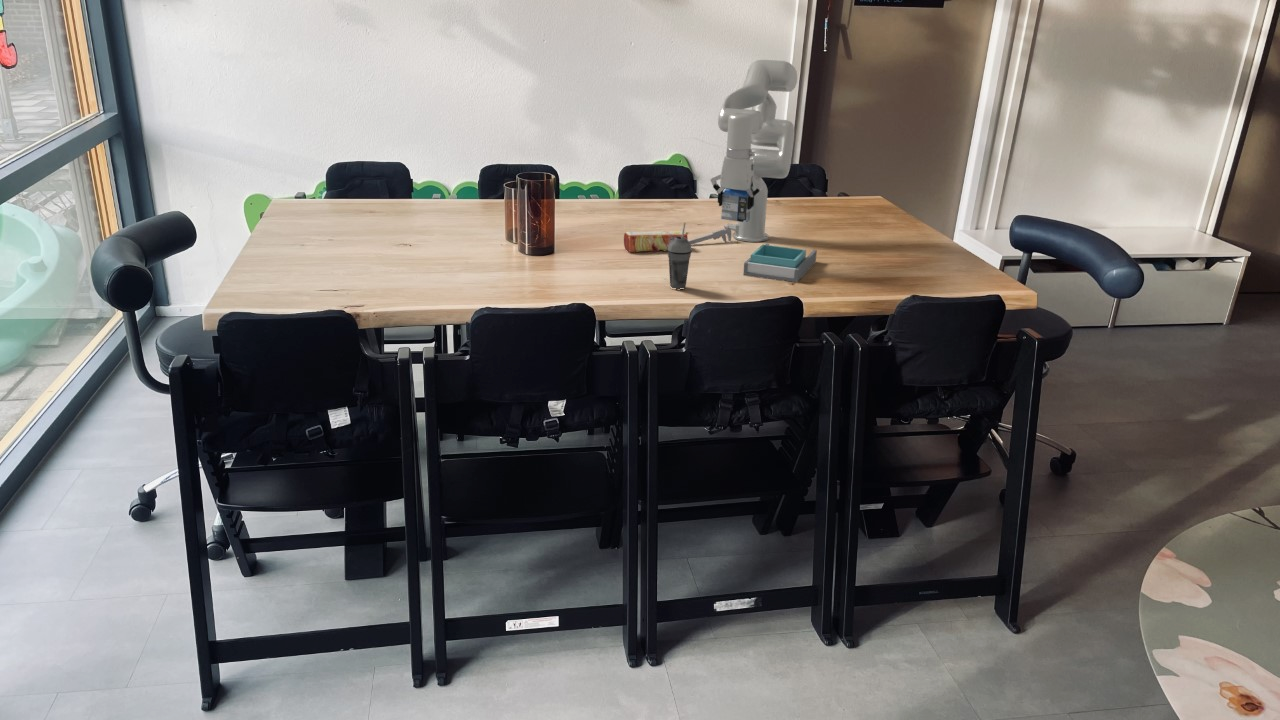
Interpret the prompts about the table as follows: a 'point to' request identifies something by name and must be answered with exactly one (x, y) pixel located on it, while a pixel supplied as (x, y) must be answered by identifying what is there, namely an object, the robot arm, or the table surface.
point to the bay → (779, 269)
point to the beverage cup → (679, 260)
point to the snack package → (650, 240)
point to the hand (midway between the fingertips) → (735, 206)
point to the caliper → (714, 235)
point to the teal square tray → (778, 256)
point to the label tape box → (735, 205)
